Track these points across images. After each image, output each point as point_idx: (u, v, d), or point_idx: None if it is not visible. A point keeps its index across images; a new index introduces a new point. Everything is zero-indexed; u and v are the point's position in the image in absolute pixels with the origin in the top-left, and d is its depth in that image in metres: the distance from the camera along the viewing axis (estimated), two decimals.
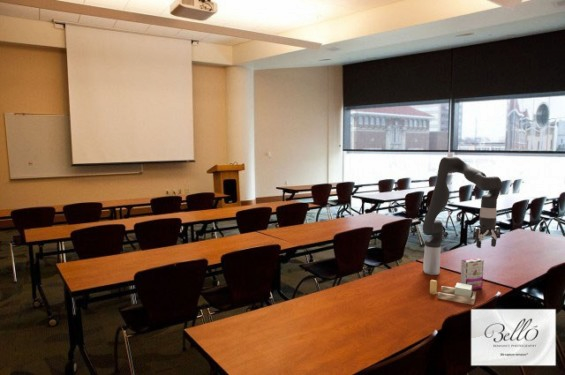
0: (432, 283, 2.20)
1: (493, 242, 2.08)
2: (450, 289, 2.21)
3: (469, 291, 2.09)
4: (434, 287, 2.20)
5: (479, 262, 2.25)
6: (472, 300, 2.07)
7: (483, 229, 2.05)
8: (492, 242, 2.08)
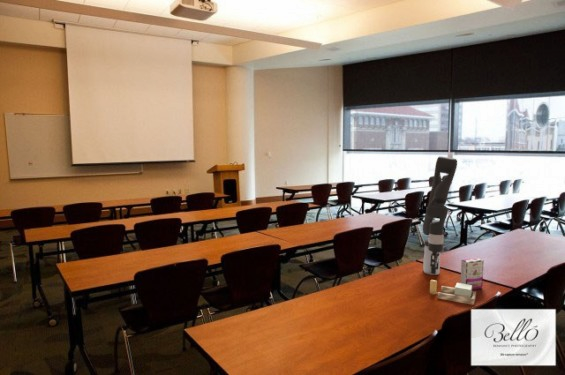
0: (432, 283, 2.20)
1: None
2: (450, 289, 2.21)
3: (469, 291, 2.09)
4: (434, 287, 2.20)
5: (479, 262, 2.25)
6: (472, 300, 2.07)
7: None
8: None
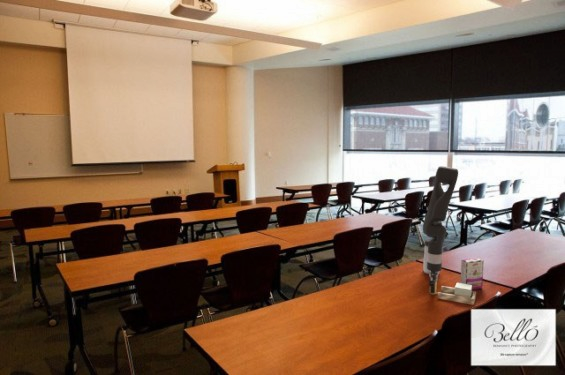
0: None
1: None
2: (450, 289, 2.21)
3: (469, 291, 2.09)
4: None
5: (479, 262, 2.25)
6: (472, 300, 2.07)
7: None
8: None
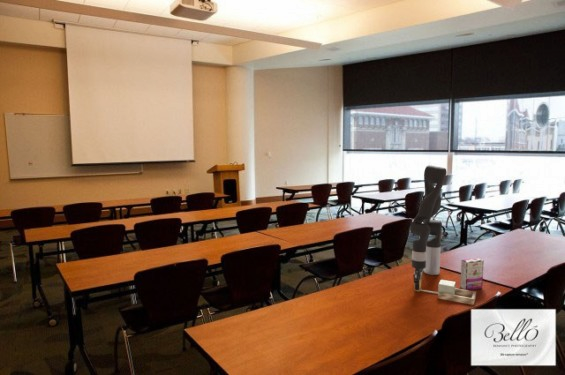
0: None
1: None
2: None
3: (452, 288, 2.13)
4: None
5: (479, 262, 2.25)
6: (472, 300, 2.07)
7: None
8: None
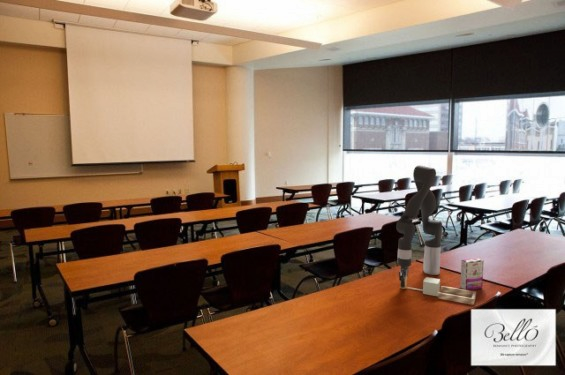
0: (402, 278, 2.28)
1: None
2: (450, 289, 2.21)
3: (436, 285, 2.17)
4: None
5: (479, 262, 2.25)
6: (472, 300, 2.07)
7: None
8: None
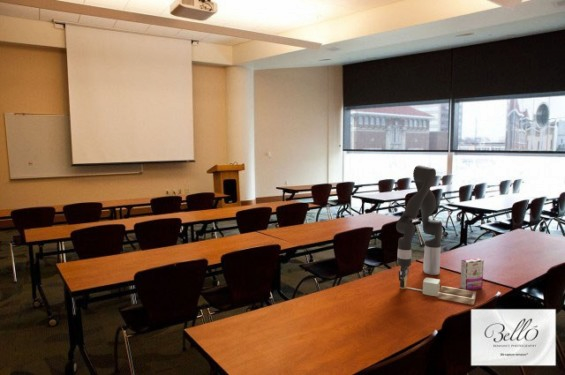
0: None
1: None
2: (450, 289, 2.21)
3: (436, 285, 2.17)
4: (404, 282, 2.28)
5: (479, 262, 2.25)
6: (472, 300, 2.07)
7: None
8: None
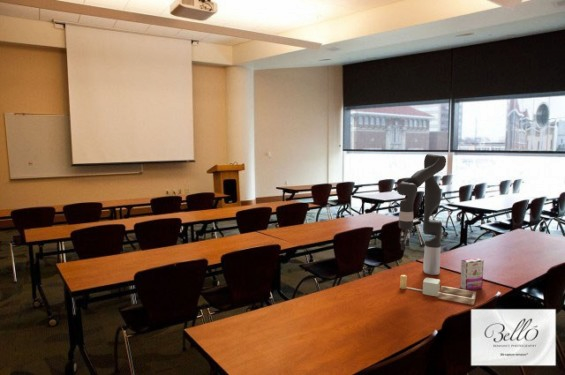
0: (402, 278, 2.28)
1: None
2: (450, 289, 2.21)
3: (436, 285, 2.17)
4: (404, 282, 2.28)
5: (479, 262, 2.25)
6: (472, 300, 2.07)
7: None
8: None
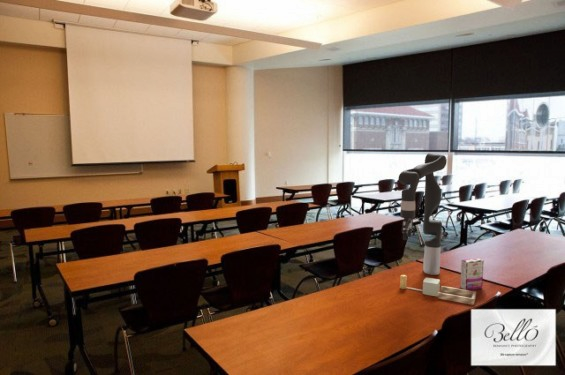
0: (402, 278, 2.28)
1: None
2: (450, 289, 2.21)
3: (436, 285, 2.17)
4: (404, 282, 2.28)
5: (479, 262, 2.25)
6: (472, 300, 2.07)
7: None
8: None
